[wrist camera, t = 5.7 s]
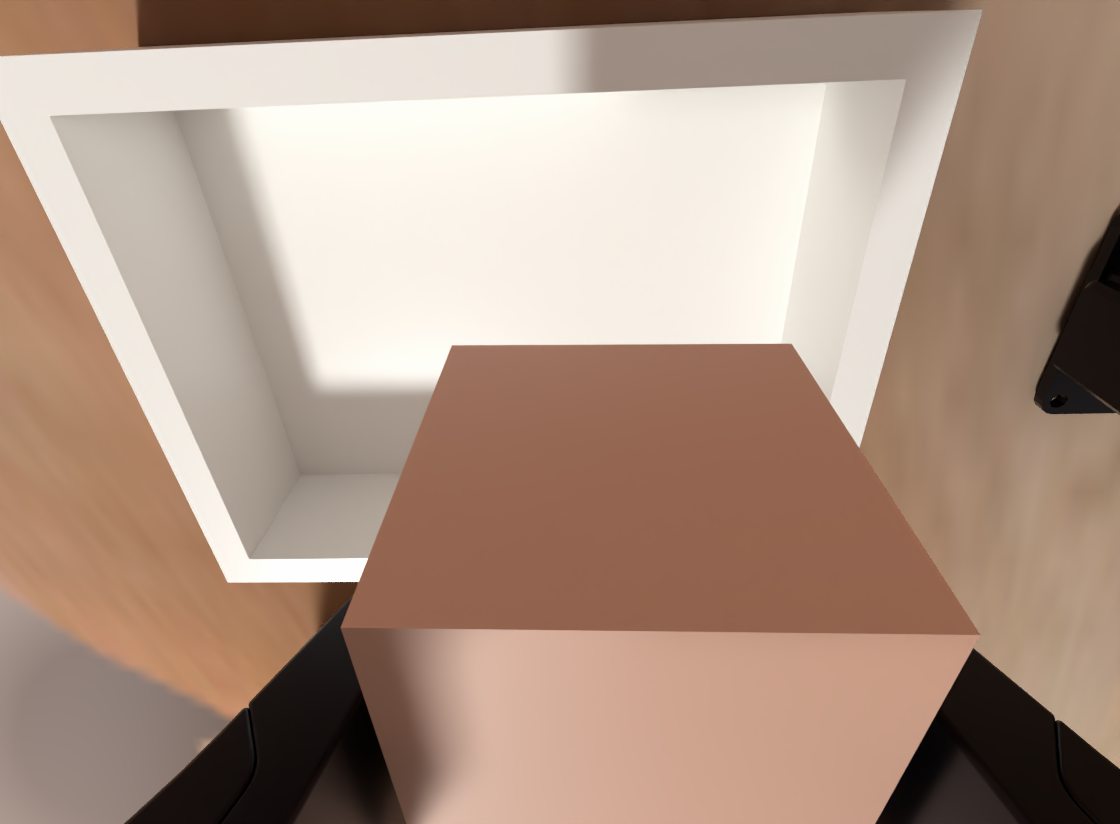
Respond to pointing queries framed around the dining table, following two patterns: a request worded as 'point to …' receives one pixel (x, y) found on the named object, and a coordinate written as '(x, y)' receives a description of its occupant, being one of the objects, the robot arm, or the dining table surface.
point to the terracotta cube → (646, 597)
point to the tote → (469, 227)
